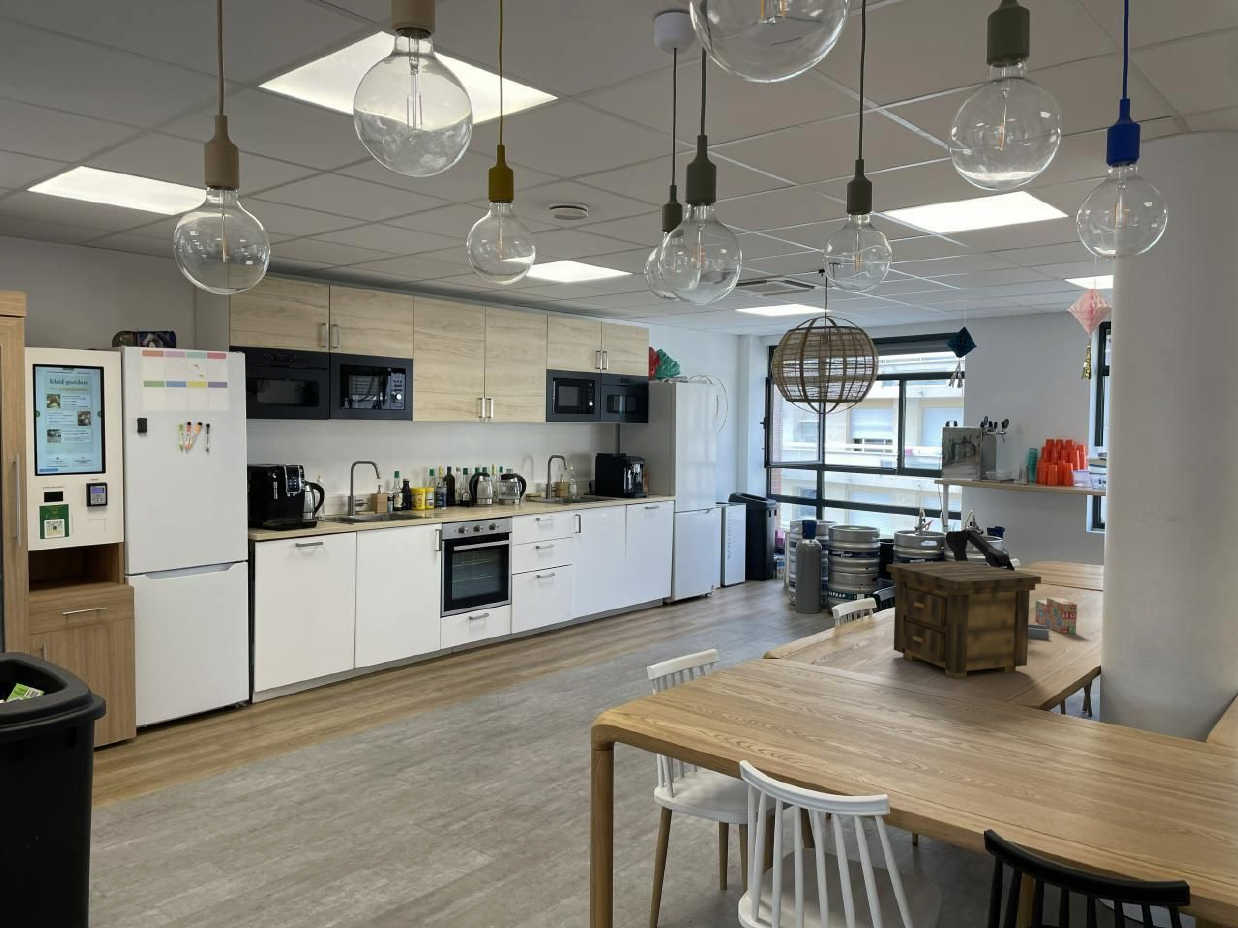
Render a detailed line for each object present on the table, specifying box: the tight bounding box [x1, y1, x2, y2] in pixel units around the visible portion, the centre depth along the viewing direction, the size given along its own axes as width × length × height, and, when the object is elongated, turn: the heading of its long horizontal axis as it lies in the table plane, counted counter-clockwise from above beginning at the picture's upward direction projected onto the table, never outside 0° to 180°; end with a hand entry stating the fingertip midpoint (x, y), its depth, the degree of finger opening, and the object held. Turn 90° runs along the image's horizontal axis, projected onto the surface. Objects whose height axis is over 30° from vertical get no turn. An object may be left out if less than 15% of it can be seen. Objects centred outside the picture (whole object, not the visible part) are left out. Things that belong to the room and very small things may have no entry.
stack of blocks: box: [1034, 597, 1078, 634], centre depth 353 cm, size 21×6×12 cm, turn 0°
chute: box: [1028, 623, 1050, 640], centre depth 340 cm, size 20×9×4 cm, turn 66°
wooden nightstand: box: [885, 560, 1042, 678], centre depth 294 cm, size 35×35×33 cm
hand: (996, 622), depth 343 cm, fingers closed
